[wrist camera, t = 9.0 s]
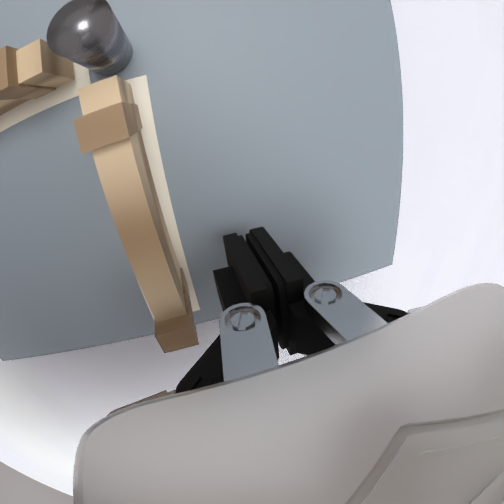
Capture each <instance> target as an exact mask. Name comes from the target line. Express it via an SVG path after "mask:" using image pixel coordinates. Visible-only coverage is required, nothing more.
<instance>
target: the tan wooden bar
mask: <svg viewBox="0 0 504 504" xmlns="http://www.w3.org/2000/svg"><path fill="white" fill-rule="evenodd" d="M78 95H79V100H80V105H81V109H82V114H83V116H81V117H79V118H77V119H74V120H73V122H74V126H75V130H76V134H77V138H78V142H79V146H80V150H81V153H82V154H84V153H87V152H89V151H92V154H93V158H94V161H95V165H96V168H97V171H98V175H99V178H100V181H101V184H102V188H103V191H104V194H105V197H106V200H107V203H108V206H109V209H110V212H111V214H112V217H113V220H114V223H115V226H116V228H117V231H118V234H119V236H120V239H121V242H122V244H123V247H124V249H125V252H126V254H127V257H128V259H129V262H130V264H131V266H132V269H133V271H134V274H135V276H136V278H137V281H138V283H139V285H140V287H141V290H142V292H143V294H144V296H145V298H146V301H147V303H148V305H149V307H150V309H151V311H152V313H153V315H154V322H155V337H156V339H157V341H158V342H159V344H160V346H161V348H162V350H163V352H164V353H167V352H171V351H175V350H179V349H183V348H187V347H191V346H194V345H198V344H199V343H198V338H197V333H196V328H195V322H194V317H193V312H192V306H191V301H190V295H189V289H188V284H187V281H186V278H185V275H184V272H183V269H182V268H180V267H179V264H178V261H177V258H176V255H175V252H174V248H173V245H172V242H171V239H170V236H169V233H168V229H167V226H166V223H165V220H164V216H163V213H162V210H161V206H160V203H159V199H158V196H157V192H156V189H155V185H154V181H153V178H152V174H151V170H150V166H149V162H148V159H147V155H146V151H145V147H144V142H143V138H142V134H141V130H140V129H142V128H143V127H142V123H141V119H140V114H139V109H138V105H137V104H135V103H134V98H133V93H132V88H131V85H130V84H129V83H128V82H126V81H125V80H123V79H121V78H120V77H118V76H117V75H115V76H112V77H109V78H106V79H103V80H101V81H98V82H95V83H93V84H90V85H87V86H85V87H82V88H80V89H78Z"/></svg>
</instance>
